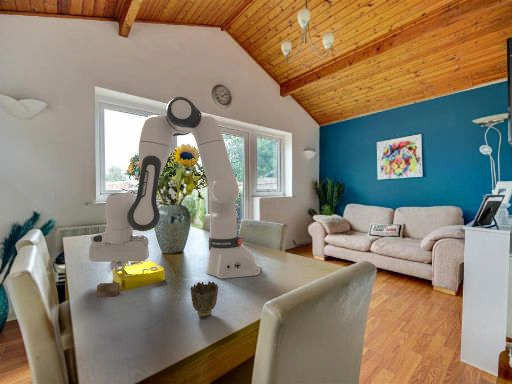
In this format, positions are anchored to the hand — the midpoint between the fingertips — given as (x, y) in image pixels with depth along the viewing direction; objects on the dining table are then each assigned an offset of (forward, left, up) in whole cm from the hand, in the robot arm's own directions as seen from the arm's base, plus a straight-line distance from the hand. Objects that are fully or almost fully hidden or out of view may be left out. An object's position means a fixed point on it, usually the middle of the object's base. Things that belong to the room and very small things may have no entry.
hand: (120, 272), depth 90 cm
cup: (-35, +25, -3) cm, 43 cm away
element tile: (-6, -1, -4) cm, 7 cm away
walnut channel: (-3, 0, -3) cm, 4 cm away
